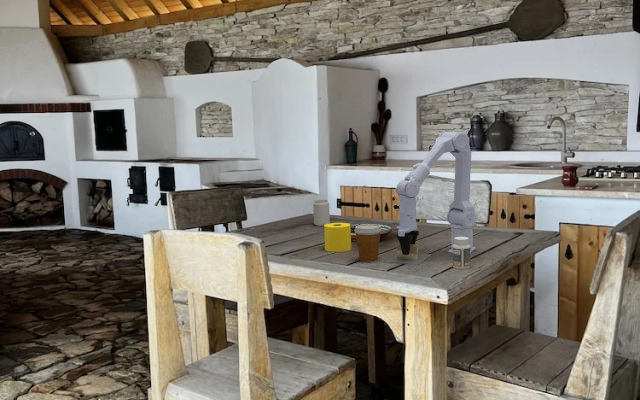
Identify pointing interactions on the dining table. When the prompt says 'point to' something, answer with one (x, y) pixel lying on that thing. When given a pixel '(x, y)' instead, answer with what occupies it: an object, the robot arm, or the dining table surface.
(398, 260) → the mat
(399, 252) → the wooden block
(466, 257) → the pill bottle
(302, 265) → the dining table surface
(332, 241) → the yellow toilet paper roll
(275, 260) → the dining table surface
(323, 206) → the can
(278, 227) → the dining table surface
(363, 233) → the disposable coffee cup
